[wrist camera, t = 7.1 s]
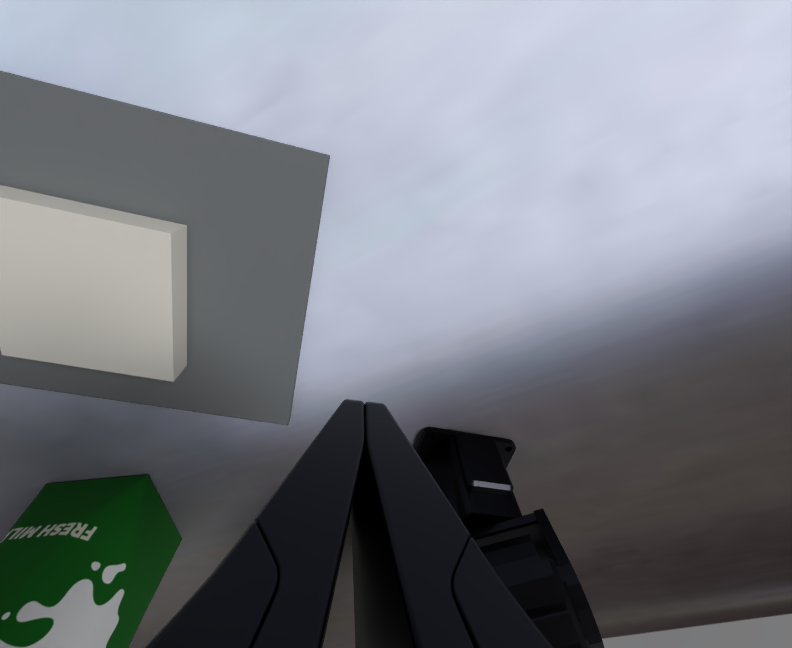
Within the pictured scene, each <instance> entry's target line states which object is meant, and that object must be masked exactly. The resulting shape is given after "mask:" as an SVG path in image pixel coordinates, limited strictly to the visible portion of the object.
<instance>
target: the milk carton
mask: <svg viewBox="0 0 792 648" xmlns="http://www.w3.org/2000/svg"><path fill="white" fill-rule="evenodd" d="M181 540H182V538H181V536H180V534H179V532H178V530H177V529H176V527H175V525H174V523H173V521H172V519H171V517H170V515H169V513H168V511H167V509H166V507H165V506H164V504H163V502H162V500H161V498H160V496H159V494H158V492H157V490H156V488H155V486H154V484H153V482H152V481H151V479H150V477H149V475H148V474H147V475H137V476H126V477H115V478H104V479H93V480H82V481H71V482H60V483H49V484H46V485H45V486H44V488H43V489H42V490H41V491H40V493H39V494H38V495H37V496H36V498H35V499H34V500H33V502H32V503H31V504H30V505H29V507H28V508H27V509H26V510H25V512H24V513H23V514H22V515H21V517H20V518H19V519H18V520H17V522H16V523H15V524H14V526H13V527H12V528H11V529H10V531H9V532H8V533H7V534H6V536H5V537H4V538H3V539H2V541H1V542H0V648H128V647H129V645H130V643H131V641H132V639H133V637H134V635H135V632H136V630H137V628H138V626H139V624H140V622H141V620H142V618H143V616H144V614H145V612H146V609H147V607H148V605H149V603H150V601H151V599H152V597H153V595H154V594H155V592H156V590H157V588H158V586H159V584H160V582H161V580H162V578H163V576H164V574H165V572H166V570H167V568H168V566H169V564H170V562H171V560H172V558H173V556H174V554H175V552H176V550H177V548H178V546H179V544H180V542H181Z"/></svg>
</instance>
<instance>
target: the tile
mask: <svg viewBox="0 0 792 648" xmlns="http://www.w3.org/2000/svg"><path fill="white" fill-rule="evenodd" d="M0 350H1V354H2V355H5V356H11V357H18V358H24V359H31V360H37V361H43V362H50V363H56V364H63V365H69V366H75V367H82V368H88V369H95V370H101V371H107V372H114V373H120V374H127V375H133V376H139V377H146V378H152V379H159V380H165V381H171V382H174V381H175V379H176V378H177V377H178V376H179V374H180V373H181V372H182V371H183V369H184V368H185V367H186V366H187V225H183V224H178V223H174V222H169V221H164V220H160V219H155V218H151V217H146V216H141V215H137V214H132V213H128V212H123V211H118V210H114V209H109V208H104V207H100V206H95V205H91V204H86V203H81V202H77V201H72V200H67V199H63V198H58V197H54V196H49V195H44V194H40V193H35V192H31V191H26V190H21V189H17V188H12V187H7V186H3V185H0Z"/></svg>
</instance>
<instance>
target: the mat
mask: <svg viewBox="0 0 792 648" xmlns="http://www.w3.org/2000/svg"><path fill="white" fill-rule="evenodd" d="M329 159H330V155H326V154H322V153H318V152H314V151H311V150H307V149H303V148H299V147H295V146H291V145H287V144H283V143H279V142H276V141H272V140H268V139H264V138H260V137H256V136H252V135H248V134H244V133H241V132H237V131H233V130H229V129H225V128H221V127H217V126H213V125H209V124H206V123H202V122H198V121H194V120H190V119H186V118H182V117H178V116H174V115H170V114H167V113H163V112H159V111H155V110H151V109H147V108H143V107H139V106H135V105H132V104H128V103H124V102H120V101H116V100H112V99H108V98H104V97H100V96H97V95H93V94H89V93H85V92H81V91H77V90H73V89H69V88H65V87H62V86H58V85H54V84H50V83H46V82H42V81H38V80H34V79H30V78H26V77H23V76H19V75H15V74H11V73H7V72H3V71H0V185H3V186H7V187H12V188H17V189H21V190H26V191H31V192H35V193H40V194H44V195H49V196H54V197H58V198H63V199H67V200H72V201H77V202H81V203H86V204H91V205H95V206H100V207H104V208H109V209H114V210H118V211H123V212H128V213H132V214H137V215H141V216H146V217H151V218H155V219H160V220H164V221H169V222H174V223H178V224H183V225H187V366H186V367H185V368H184V369H183V371H182V372H181V373H180V374H179V376H178V377H177V378H176V379H175V381H174V382H171V381H165V380H159V379H152V378H146V377H139V376H133V375H127V374H120V373H114V372H107V371H101V370H95V369H88V368H82V367H75V366H69V365H63V364H56V363H50V362H43V361H37V360H31V359H24V358H18V357H11V356H5V355H2V354H1V350H0V383H1V384H8V385H15V386H22V387H29V388H36V389H42V390H49V391H56V392H63V393H70V394H77V395H83V396H90V397H97V398H104V399H111V400H118V401H125V402H131V403H138V404H145V405H152V406H159V407H166V408H172V409H179V410H186V411H193V412H200V413H207V414H213V415H220V416H227V417H234V418H241V419H248V420H255V421H261V422H268V423H275V424H282V425H288V424H289V420H290V415H291V408H292V401H293V395H294V388H295V382H296V375H297V369H298V362H299V356H300V349H301V342H302V336H303V329H304V323H305V316H306V310H307V303H308V296H309V290H310V283H311V277H312V270H313V264H314V257H315V251H316V244H317V237H318V231H319V224H320V218H321V211H322V205H323V198H324V191H325V185H326V178H327V172H328V165H329Z"/></svg>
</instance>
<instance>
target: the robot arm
mask: <svg viewBox="0 0 792 648" xmlns="http://www.w3.org/2000/svg"><path fill="white" fill-rule="evenodd" d="M429 435H433V436H429ZM508 446H509V447H508ZM515 449H516V447H515V444H514V442H513V441H512V440H510V439H503V438H497V437H490V436H484V435H477V434H471V433H464V432H458V431H451V430H445V429H438V428H427V429H426V430H424V432H423V435H422V438H421V440H420V443H419V446H418V449H417V451H415V449H414V448H413V446H412V445H411V443H410V442H409V440H408V439H407V437H406V436H405V434H404V433H403V431H402V430H401V428H400V427H399V425H398V424H397V422H396V421H395V419H394V418H393V416H392V414H391V413H390V411H389V410H388V408H387V407H386V406H385V405H384V404H383V403H375V402H366V403H365V404H364V403H363V402H362V401H358V400H350V399H346V400H344V401H343V402H342V403H341V405H340V406H339V407H338V409H337V410H336V411H335V413H334V414H333V415H332V417H331V418H330V419H329V421H328V422H327V423H326V425H325V426H324V427H323V429H322V430H321V431H320V433H319V434H318V435H317V437H316V438H315V439H314V441H313V442H312V443H311V445H310V446H309V447H308V449H307V450H306V451H305V453H304V454H303V455H302V457H301V458H300V459H299V461H298V462H297V463H296V465H295V466H294V467H293V469H292V470H291V471H290V473H289V474H288V475H287V477H286V478H285V479H284V481H283V482H282V483H281V485H280V486H279V487H278V489H277V490H276V491H275V493H274V494H273V495H272V497H271V498H270V499H269V501H268V502H267V503H266V505H265V506H264V507H263V509H262V510H261V511H260V513H259V514H258V515H257V517H256V518H255V521H254V522H253V523H251V524H250V526H249V527H248V528H247V530H246V531H245V532H244V534H243V535H242V536H241V538H240V539H239V540H238V542H237V543H236V544H235V546H234V547H233V548H232V549H231V551H230V552H229V553H228V554H227V556H226V557H225V558H224V559H223V561H222V562H221V563H220V564H219V566H218V567H217V568H216V569H215V571H214V572H213V573H212V574H211V576H210V577H209V578H208V579H207V580H206V581H205V582H204V583H203V585H202V586H201V587H200V588H199V589H198V590H197V591H196V592H195V594H194V595H193V596H192V597H191V598H190V599H189V600H188V601H187V603H186V604H185V605H184V606H183V607H182V608H181V609H180V611H179V612H178V613H177V614H176V615H175V616H174V617H173V618H172V619H171V620H170V621H169V622H168V623H167V625H166V626H165V627H164V628H163V629H162V630H161V631H160V632H159V633H158V634H157V635H156V636H155V637H154V639H153V640H152V641H151V642H150V643H149V644H148V645H147V646H146V647H145V648H322V647H323V642H324V637H325V633H326V628H327V623H328V619H329V614H330V609H331V604H332V600H333V595H334V590H335V585H336V581H337V576H338V571H339V566H340V562H341V557H342V552H343V547H344V543H345V538H346V533H347V528H348V524H349V519H350V514H351V509H352V551H353V583H354V615H355V646H356V648H604V645H603V642H602V638H601V635H600V632H599V630H598V627H597V624H596V621H595V619H594V616H593V614H592V611H591V608H590V606H589V603H588V601H587V599H586V596H585V594H584V591H583V589H582V587H581V584H580V582H579V580H578V578H577V576H576V573H575V571H574V569H573V567H572V565H571V563H570V561H569V559H568V557H567V555H566V553H565V551H564V549H563V547H562V545H561V543H560V541H559V540H558V538H557V536H556V534H555V532H554V530H553V528H552V526H551V524H550V522H549V520H548V518H547V516H546V514H545V512H544V510H543V509H539V510H535V511H533V512H534V513H531V514H528V515H524V516H522V514H521V511H520V509H519V506H518V503H517V501H516V498H515V496H514V493H513V485H512V483H511V480H510V477H509V475H508V472H507V470H506V467H507V465H508V463H509V461H510V460H511V458H512V456H513V454H514V452H515Z"/></svg>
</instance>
